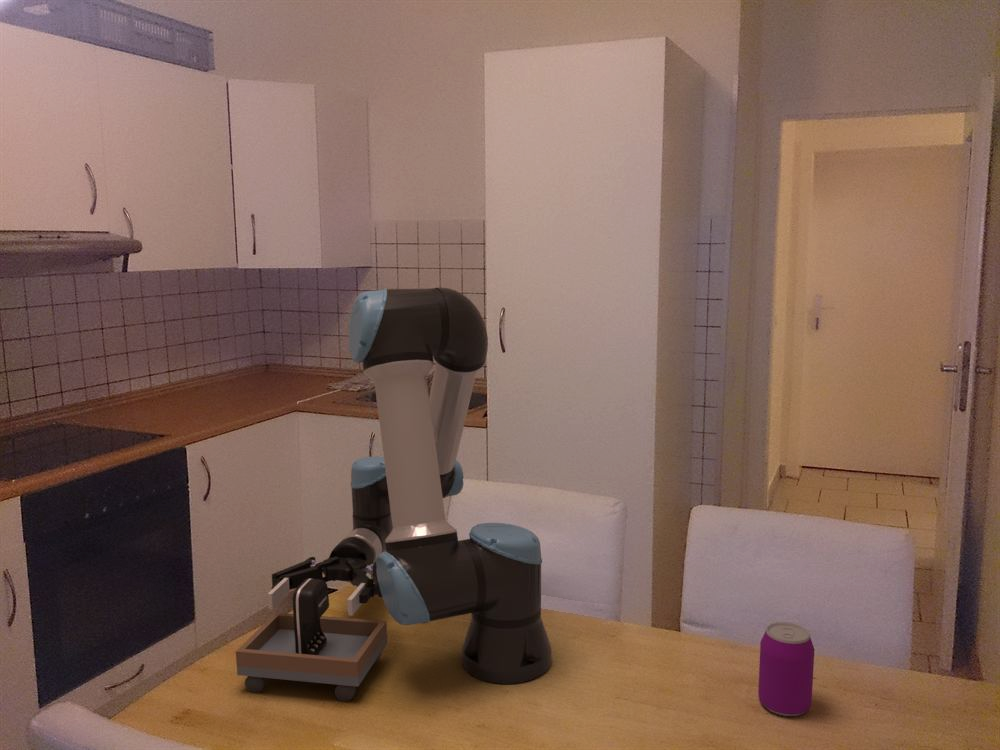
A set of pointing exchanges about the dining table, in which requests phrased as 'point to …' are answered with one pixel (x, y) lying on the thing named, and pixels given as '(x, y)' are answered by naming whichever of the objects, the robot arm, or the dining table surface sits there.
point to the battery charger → (309, 615)
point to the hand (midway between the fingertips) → (309, 604)
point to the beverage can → (786, 669)
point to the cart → (335, 663)
